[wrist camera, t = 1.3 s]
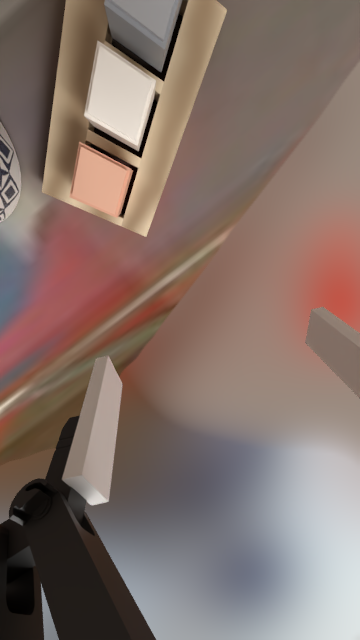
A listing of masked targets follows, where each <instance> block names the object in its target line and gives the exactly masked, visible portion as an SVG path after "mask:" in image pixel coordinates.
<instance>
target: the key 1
mask: <svg viewBox="0 0 360 640" xmlns="http://www.w3.org/2000/svg"><path fill="white" fill-rule="evenodd" d="M132 172H133V170H132V169H130V168H129V167H127V166H125V165H123V164H121V163H119V162H117V161H115V160H113V159H112V158H110V157H108V156H106V155H104V154H102V153H100V152H98V151H96V150H94V149H93V148H91V147H89V146H87V145H85V144H83V143H81V142H79V146H78V152H77V157H76V163H75V168H74V174H73V180H72V185H71V191H70V196H69V197H70V198H73V199H75V200H77V201H79V202H82V203H84V204H86V205H88V206H91V207H93V208H95V209H98V210H100V211H102V212H104V213H107V214H109V215H111V216H113V217H116V218H117V217H118V216H119V215H120V213H121V210H122V207H123V204H124V200H125V197H126V193H127V190H128V186H129V183H130V179H131V176H132Z"/></svg>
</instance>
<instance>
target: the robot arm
mask: <svg viewBox="0 0 360 640" xmlns="http://www.w3.org/2000/svg"><path fill="white" fill-rule="evenodd" d="M306 344H307V345H308V346H309V347H310V348H311V349H312V350H313V351H314V352H315V353H316V354H317V355H318V356H319V357H320V358H321V359H322V360H323V361H324V362H325V363H326V364H327V365H328V366H329V367H330V369H331V370H332V371H333V372H334V373H335V374H336V375H337V376H339V378H340V379H341V380H342V381H343V382H344V383H345V384H346V385H347V386H348V387H349V388H350V389H351V390H352V391H353V392H354V393H355V394H356V395H357V396H358V397H359V398H360V333H359V332H357V331H356V330H354V329H353V328H352V327H350V326H349V325H347V324H346V323H345V322H343V321H342V320H340V319H339V318H338V317H336V316H335V315H333V314H332V313H331V312H329V311H328V310H326V309H325V308H324V307H321V308H317V309H312V310H311V314H310V320H309V326H308V331H307V337H306ZM121 392H122V382H121V380H120V378H119V376H118V374H117V372H116V370H115V368H114V366H113V364H112V362H111V360H110V358H109V356H104V357H100V358H96V361H95V364H94V368H93V371H92V375H91V378H90V382H89V386H88V389H87V393H86V396H85V400H84V403H83V407H82V410H81V414H80V416H76V417H72V418H69V420H68V421H67V423H66V424H65V426H64V427H63V429H62V432H61V435H60V438H59V441H58V443H57V446H56V451H55V452H54V455H53V458H52V461H51V464H50V467H49V470H48V473H47V476H46V479H35V480H32V481H31V482H29V483H28V484H26V485H25V486H24V487H23V488H22V489H21V490H20V491H19V492H18V493H17V495H16V496H15V498H14V500H13V501H12V504H11V507H10V510H9V519H8V520H7V521H5V522H3V523H2V524H0V640H44V629H43V612H42V596H41V584H42V587H43V590H44V593H45V597H46V600H47V603H48V606H49V609H50V612H51V615H52V619H53V622H54V625H55V628H56V631H57V634H58V638H59V640H156V638H155V637H154V635H153V633H152V631H151V629H150V628H149V626H148V624H147V622H146V620H145V619H144V617H143V615H142V613H141V611H140V610H139V608H138V606H137V604H136V602H135V600H134V599H133V597H132V595H131V593H130V591H129V590H128V588H127V586H126V584H125V582H124V581H123V579H122V577H121V575H120V573H119V572H118V570H117V568H116V566H115V564H114V562H113V561H112V559H111V557H110V555H109V553H108V552H107V550H106V548H105V546H104V544H103V543H102V541H101V539H100V537H99V535H98V534H97V532H96V530H95V528H94V526H93V525H92V523H91V521H90V519H89V517H88V515H87V514H86V512H85V511H84V510H85V505H86V501H87V502H88V503H89V504H91V505H95V504H100V503H104V502H108V501H109V493H110V485H111V476H112V468H113V459H114V451H115V442H116V434H117V426H118V417H119V409H120V400H121Z"/></svg>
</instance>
